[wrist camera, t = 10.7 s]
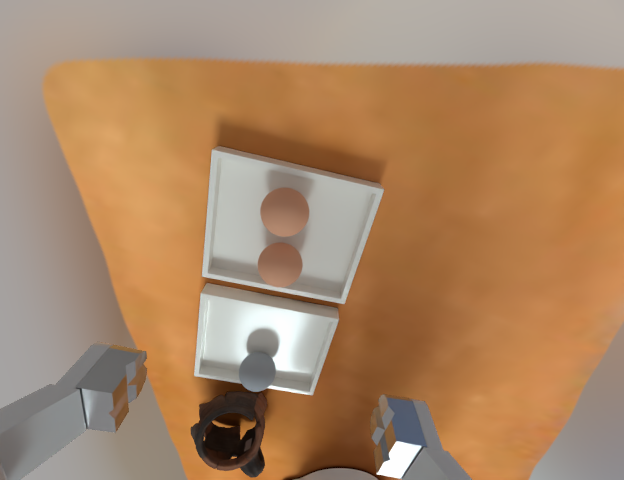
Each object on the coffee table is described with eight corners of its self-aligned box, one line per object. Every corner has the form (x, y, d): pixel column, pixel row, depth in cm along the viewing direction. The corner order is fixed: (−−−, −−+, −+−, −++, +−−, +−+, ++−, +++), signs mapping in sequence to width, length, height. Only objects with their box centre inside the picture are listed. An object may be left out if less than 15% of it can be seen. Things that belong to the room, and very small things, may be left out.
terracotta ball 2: (298, 275, 29) (296, 300, 26) (258, 267, 29) (250, 291, 26) (307, 240, 28) (306, 261, 24) (265, 230, 27) (257, 251, 24)
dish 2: (312, 382, 37) (312, 395, 36) (199, 363, 36) (194, 375, 34) (337, 308, 32) (339, 319, 30) (206, 282, 31) (200, 293, 29)
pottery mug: (183, 401, 40) (167, 440, 32) (242, 355, 42) (240, 380, 34) (238, 466, 41) (235, 519, 33) (292, 418, 43) (302, 457, 35)
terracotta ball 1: (309, 233, 27) (294, 250, 23) (268, 219, 27) (248, 234, 24) (319, 191, 25) (306, 202, 21) (276, 177, 26) (255, 186, 22)
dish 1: (342, 293, 31) (344, 304, 29) (208, 266, 30) (202, 276, 28) (380, 183, 26) (384, 189, 24) (218, 145, 25) (211, 149, 23)
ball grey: (274, 371, 36) (269, 402, 32) (241, 365, 35) (232, 396, 32) (280, 347, 34) (276, 377, 30) (245, 341, 33) (237, 371, 30)
